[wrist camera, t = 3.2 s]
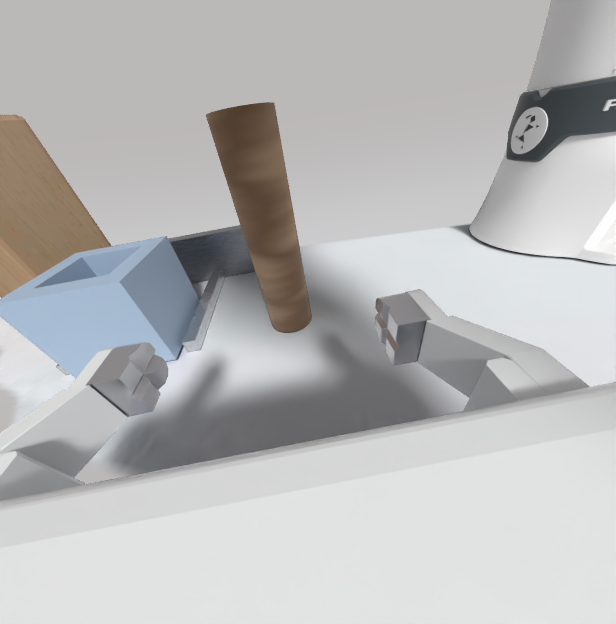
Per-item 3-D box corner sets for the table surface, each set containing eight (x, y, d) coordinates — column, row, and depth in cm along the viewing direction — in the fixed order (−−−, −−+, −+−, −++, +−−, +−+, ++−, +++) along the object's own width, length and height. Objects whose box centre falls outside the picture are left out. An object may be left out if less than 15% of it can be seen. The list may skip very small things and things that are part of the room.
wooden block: (89, 279, 40) (-33, 130, 27) (136, 279, 37) (23, 113, 25) (22, 318, 32) (-188, 136, 20) (74, 321, 29) (-131, 113, 17)
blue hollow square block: (200, 301, 28) (166, 236, 23) (176, 359, 21) (119, 281, 16) (125, 315, 28) (75, 252, 23) (75, 378, 21) (-13, 306, 16)
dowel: (308, 303, 25) (274, 106, 15) (314, 328, 22) (274, 99, 12) (271, 310, 25) (213, 117, 15) (271, 336, 22) (197, 113, 12)
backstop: (265, 264, 34) (253, 222, 31) (261, 338, 22) (240, 282, 18) (128, 290, 34) (100, 251, 30) (47, 378, 22) (-16, 331, 18)
